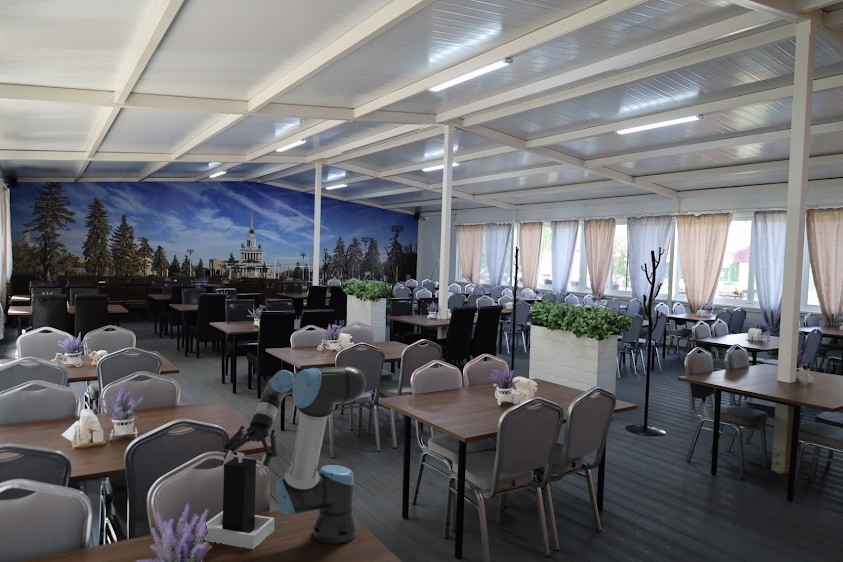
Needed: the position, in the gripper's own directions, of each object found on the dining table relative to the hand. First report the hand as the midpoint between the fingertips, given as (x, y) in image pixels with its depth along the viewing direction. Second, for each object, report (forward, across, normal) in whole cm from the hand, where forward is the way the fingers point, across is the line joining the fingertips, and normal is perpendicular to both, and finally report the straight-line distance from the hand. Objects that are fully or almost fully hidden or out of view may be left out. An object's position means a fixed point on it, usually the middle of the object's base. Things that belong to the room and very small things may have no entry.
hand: (241, 471), depth 205 cm
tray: (+17, -1, -13) cm, 21 cm away
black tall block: (+16, -1, -12) cm, 21 cm away
